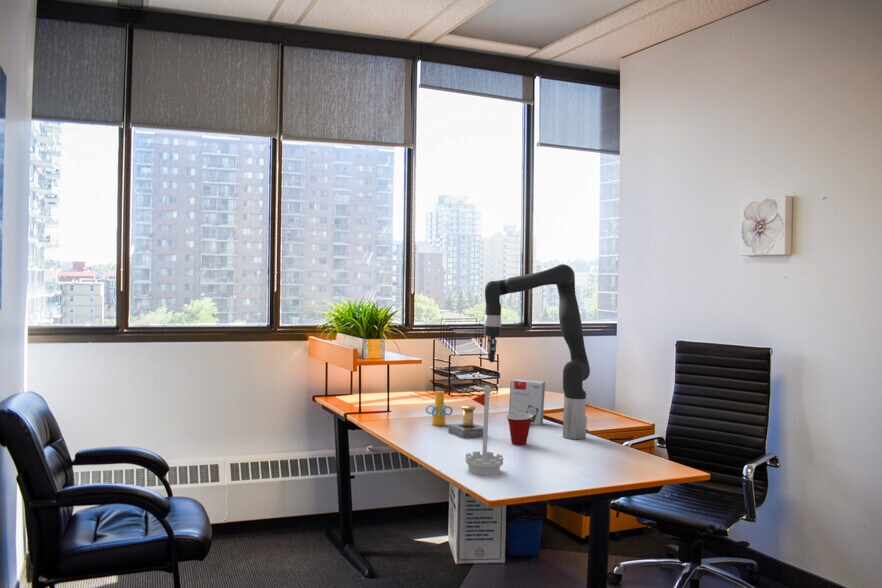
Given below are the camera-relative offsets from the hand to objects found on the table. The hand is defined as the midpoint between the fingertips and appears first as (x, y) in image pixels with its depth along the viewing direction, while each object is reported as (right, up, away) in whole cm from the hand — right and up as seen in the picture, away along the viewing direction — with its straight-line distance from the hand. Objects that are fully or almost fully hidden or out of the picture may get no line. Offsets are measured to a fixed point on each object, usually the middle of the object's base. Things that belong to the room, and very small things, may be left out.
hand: (491, 361), depth 332 cm
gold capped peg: (-11, -30, -16) cm, 36 cm away
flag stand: (-8, -32, -75) cm, 82 cm away
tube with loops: (-24, -29, +4) cm, 38 cm away
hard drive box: (+17, -31, +16) cm, 39 cm away
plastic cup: (+9, -31, -31) cm, 45 cm away
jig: (-11, -30, -16) cm, 36 cm away
